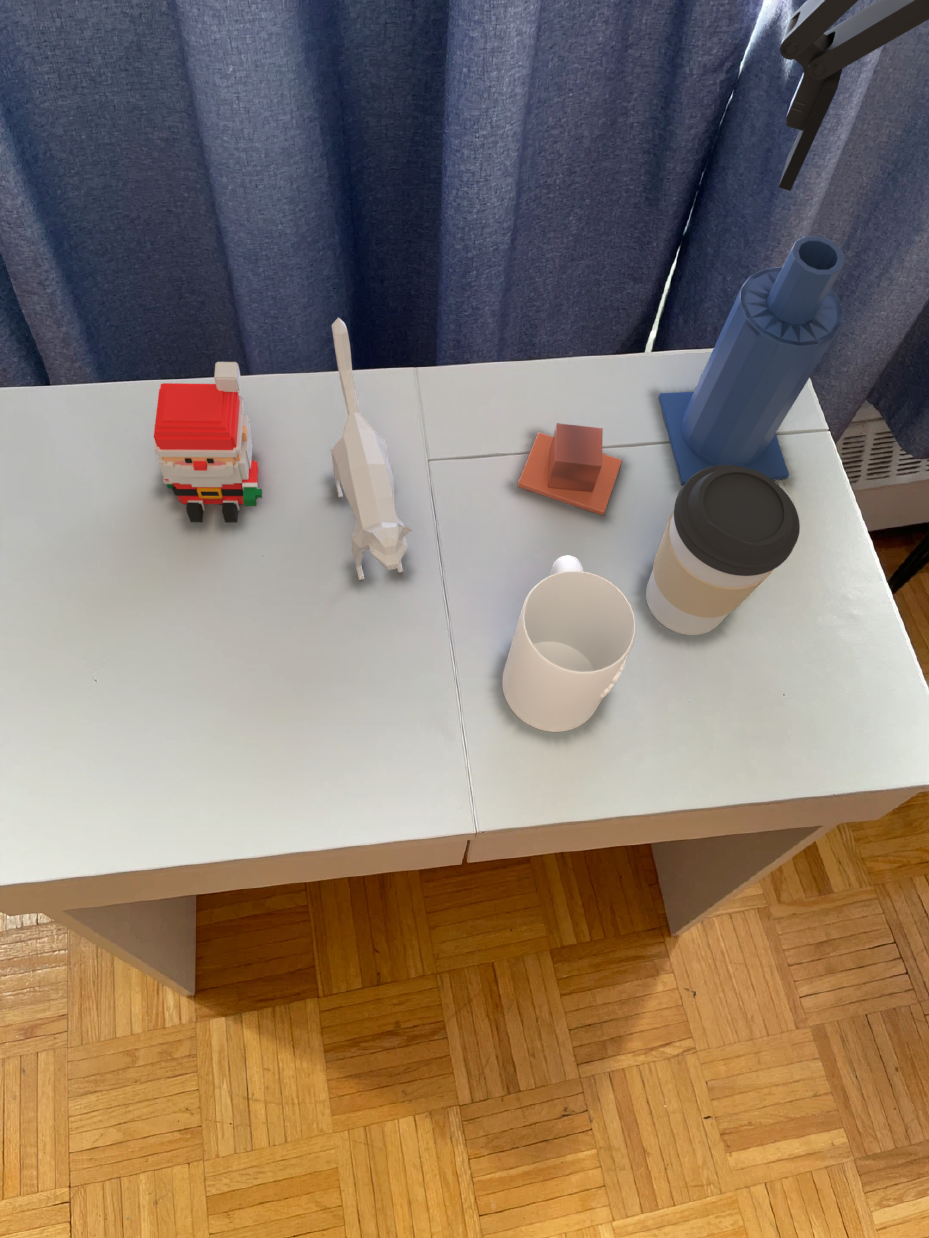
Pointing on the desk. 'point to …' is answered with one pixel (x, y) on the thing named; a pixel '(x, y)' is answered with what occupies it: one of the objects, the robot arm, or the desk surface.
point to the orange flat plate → (594, 501)
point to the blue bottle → (765, 355)
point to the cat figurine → (365, 474)
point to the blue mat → (691, 463)
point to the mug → (567, 647)
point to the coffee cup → (719, 546)
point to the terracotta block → (575, 457)
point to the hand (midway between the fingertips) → (896, 208)
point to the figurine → (207, 444)
